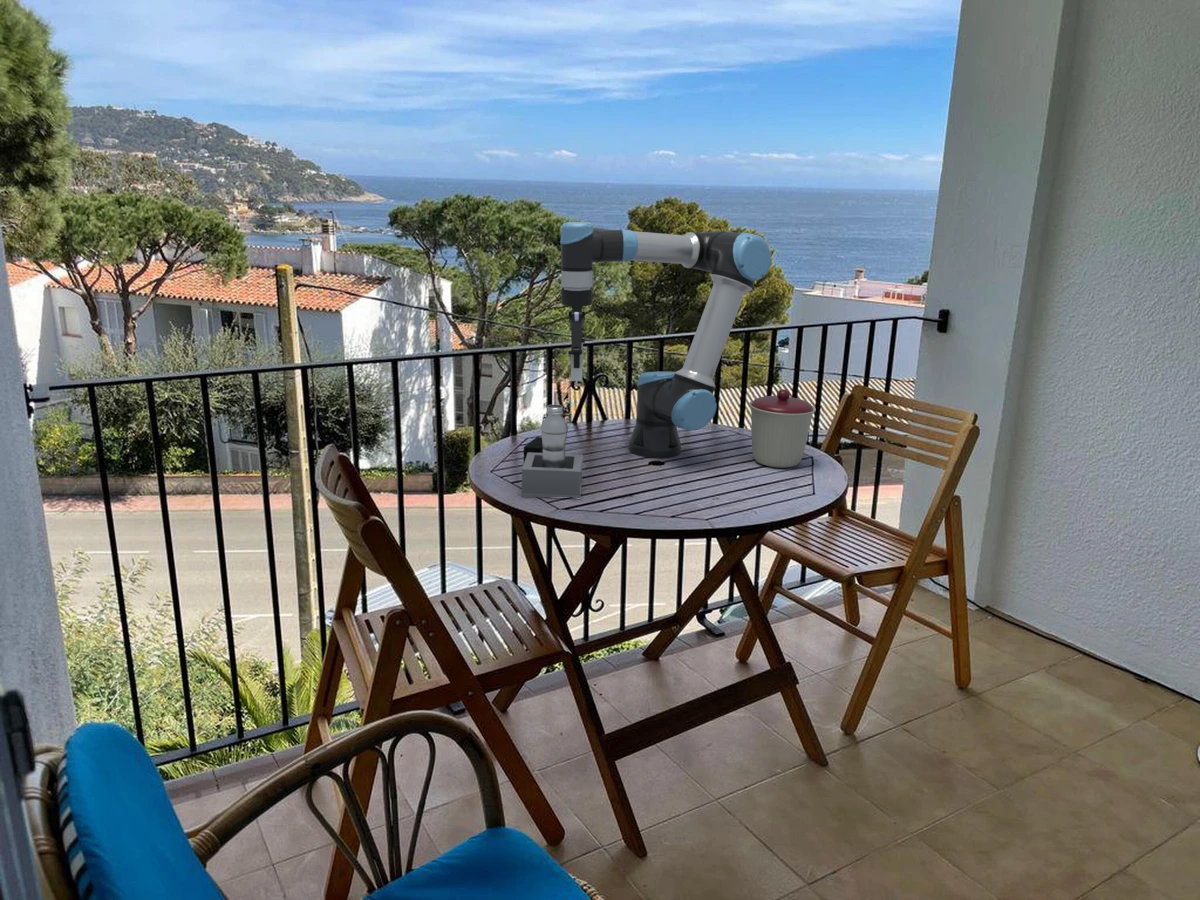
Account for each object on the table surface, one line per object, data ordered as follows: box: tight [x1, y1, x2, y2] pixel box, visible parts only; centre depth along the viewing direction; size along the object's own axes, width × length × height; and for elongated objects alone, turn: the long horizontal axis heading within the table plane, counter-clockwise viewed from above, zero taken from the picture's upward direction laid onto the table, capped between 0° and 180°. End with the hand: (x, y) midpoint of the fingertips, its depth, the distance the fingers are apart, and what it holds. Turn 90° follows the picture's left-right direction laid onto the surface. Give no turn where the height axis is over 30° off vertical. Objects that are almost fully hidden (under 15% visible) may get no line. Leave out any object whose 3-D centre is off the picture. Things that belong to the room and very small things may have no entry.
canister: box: [748, 388, 817, 469], centre depth 236 cm, size 18×18×21 cm
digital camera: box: [523, 436, 543, 463], centre depth 226 cm, size 10×5×7 cm, turn 165°
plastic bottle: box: [540, 404, 569, 469], centre depth 207 cm, size 6×7×20 cm
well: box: [521, 452, 584, 499], centre depth 209 cm, size 14×14×7 cm
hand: (577, 374), depth 211 cm, fingers open, 13 cm apart
